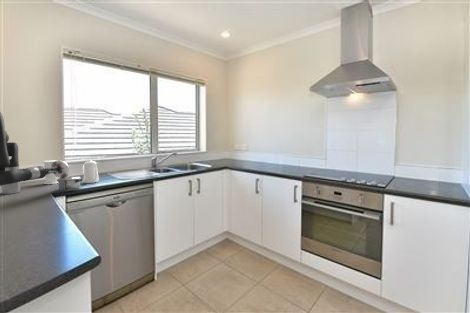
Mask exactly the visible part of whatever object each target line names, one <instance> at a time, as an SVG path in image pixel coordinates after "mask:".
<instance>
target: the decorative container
mask: <svg viewBox="0 0 470 313" xmlns="http://www.w3.org/2000/svg"><path fill="white" fill-rule="evenodd" d="M57 160H58V159H57ZM57 160H43V161H42V164H44V165H43V167H44V168H51V165H52V163H53V162H54V161H57ZM57 179H59V178H58V177H56V176H55V175H54V174H53V173H52V174H49V175H46V176H45V177H44V180H45V181H44V182H43V184H53V185H58V184H57V183H58V182H57Z"/></svg>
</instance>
